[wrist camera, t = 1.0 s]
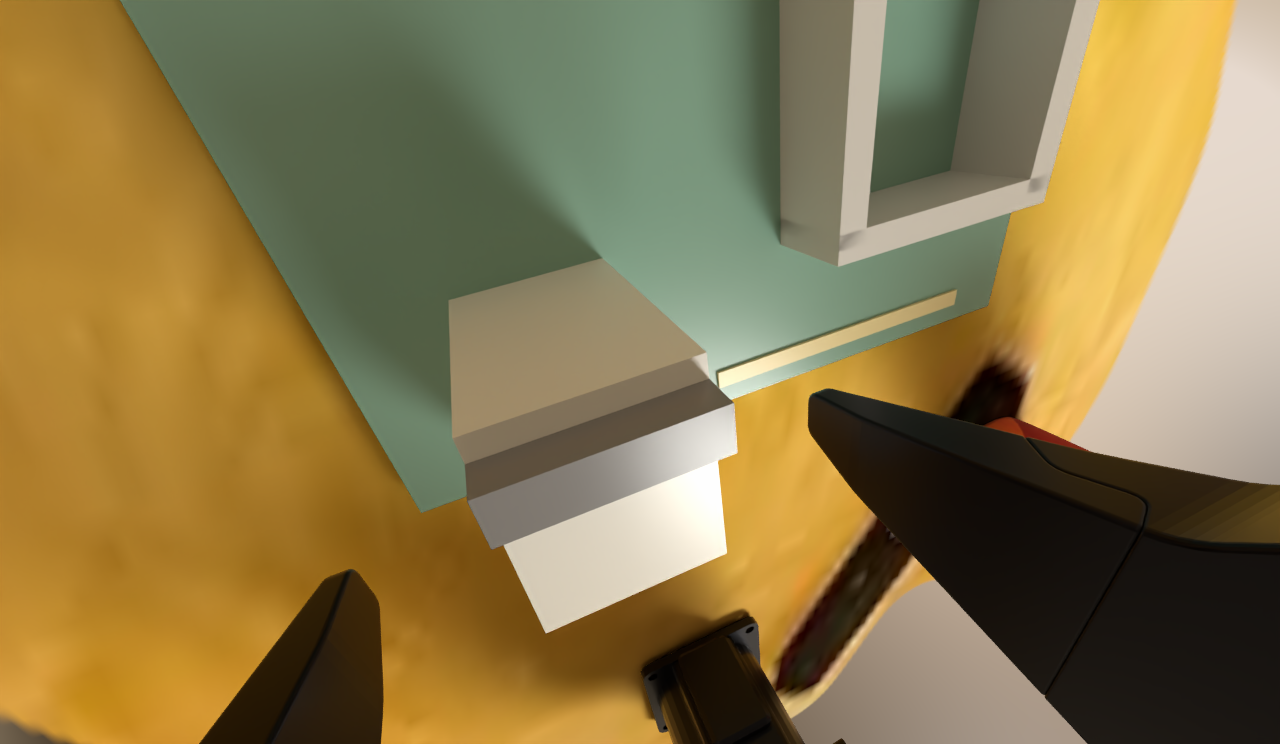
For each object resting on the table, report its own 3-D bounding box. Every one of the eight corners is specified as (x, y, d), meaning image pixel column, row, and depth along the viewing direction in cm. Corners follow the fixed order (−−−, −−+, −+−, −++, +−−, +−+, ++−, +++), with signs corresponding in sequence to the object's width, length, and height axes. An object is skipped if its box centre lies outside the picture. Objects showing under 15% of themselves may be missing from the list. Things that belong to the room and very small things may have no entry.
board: (965, 297, 20) (1054, 329, 17) (422, 490, 15) (417, 581, 12) (1074, -210, 12) (1270, -311, 9) (62, -146, 7) (-178, -310, 5)
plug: (633, 409, 15) (746, 583, 9) (510, 452, 14) (553, 673, 9) (602, 258, 12) (731, 375, 7) (448, 300, 12) (452, 473, 6)
